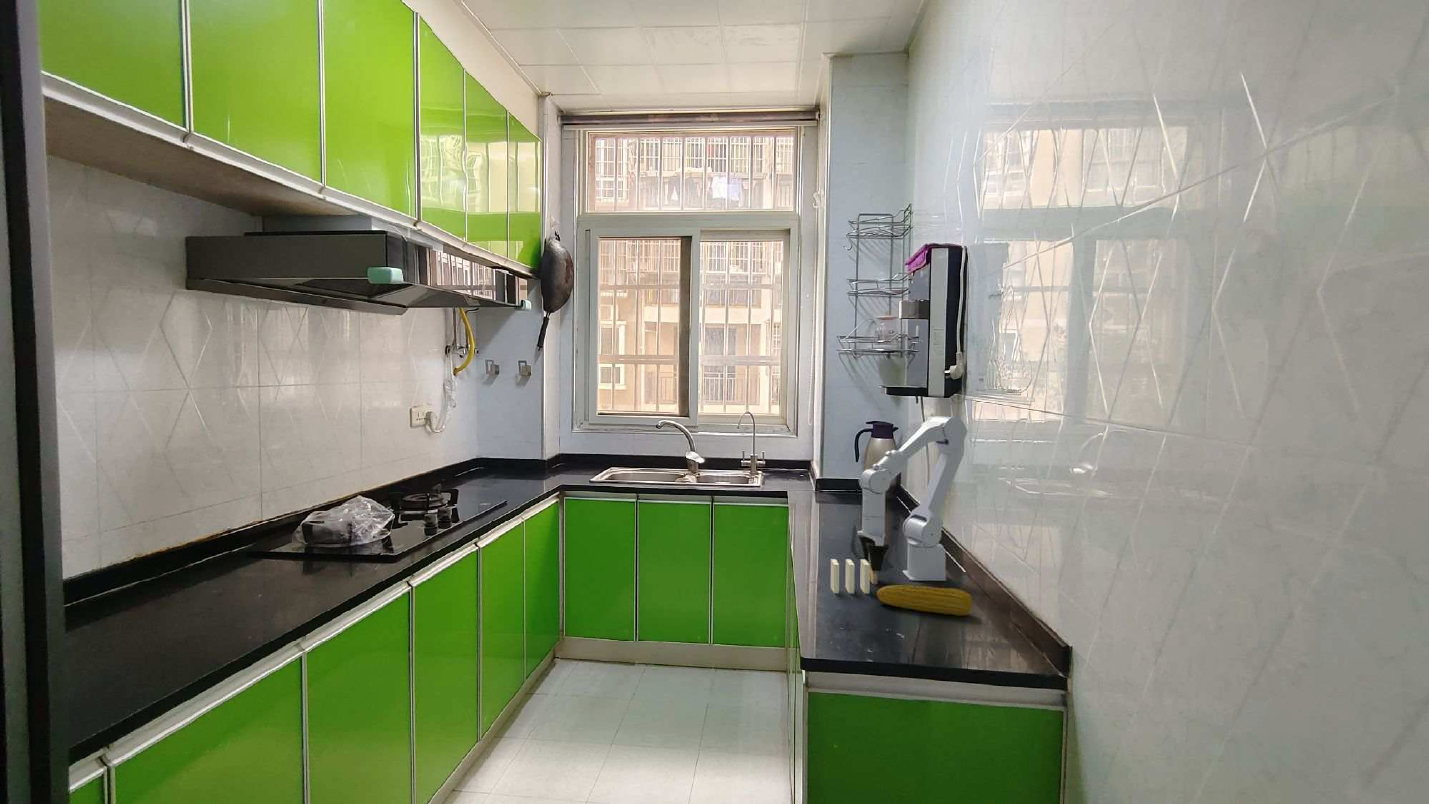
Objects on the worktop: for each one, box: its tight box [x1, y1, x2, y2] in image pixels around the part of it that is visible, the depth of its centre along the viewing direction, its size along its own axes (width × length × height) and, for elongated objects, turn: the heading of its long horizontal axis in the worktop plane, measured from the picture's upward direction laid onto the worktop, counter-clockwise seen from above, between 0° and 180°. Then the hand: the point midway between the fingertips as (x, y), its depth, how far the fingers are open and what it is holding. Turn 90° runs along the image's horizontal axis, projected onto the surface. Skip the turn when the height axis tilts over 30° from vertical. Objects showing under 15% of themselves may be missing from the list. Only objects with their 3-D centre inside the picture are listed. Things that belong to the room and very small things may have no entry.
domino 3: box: [859, 558, 871, 595], centre depth 168 cm, size 1×5×7 cm, turn 0°
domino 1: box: [830, 558, 840, 594], centre depth 168 cm, size 1×5×7 cm, turn 0°
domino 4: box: [868, 555, 878, 585], centre depth 176 cm, size 1×5×7 cm, turn 0°
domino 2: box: [845, 558, 855, 594], centre depth 168 cm, size 1×5×7 cm, turn 0°
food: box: [876, 584, 973, 617], centre depth 154 cm, size 21×6×6 cm, turn 66°
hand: (872, 566), depth 176 cm, fingers open, 7 cm apart
